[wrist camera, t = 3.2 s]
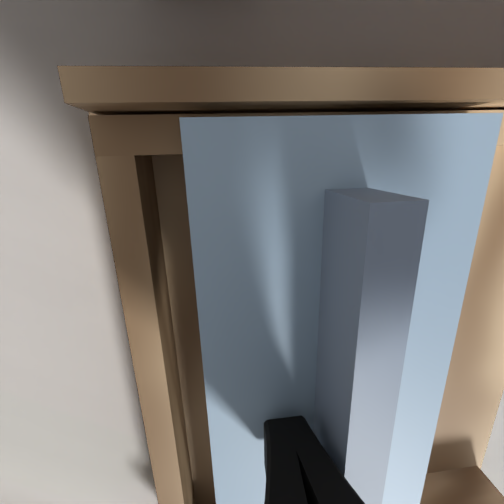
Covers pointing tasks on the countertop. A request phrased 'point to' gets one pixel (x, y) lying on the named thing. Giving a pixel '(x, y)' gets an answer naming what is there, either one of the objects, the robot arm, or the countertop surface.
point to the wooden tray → (181, 261)
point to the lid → (332, 284)
